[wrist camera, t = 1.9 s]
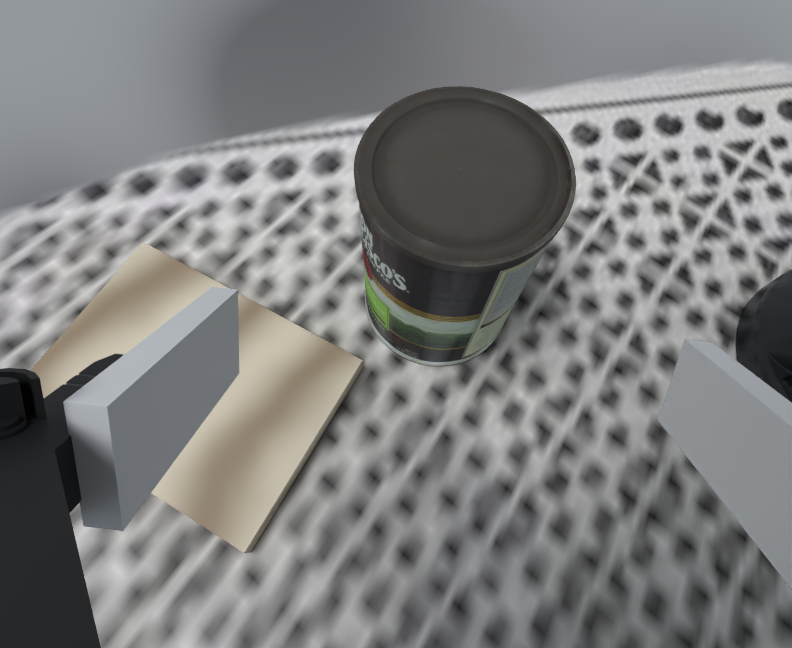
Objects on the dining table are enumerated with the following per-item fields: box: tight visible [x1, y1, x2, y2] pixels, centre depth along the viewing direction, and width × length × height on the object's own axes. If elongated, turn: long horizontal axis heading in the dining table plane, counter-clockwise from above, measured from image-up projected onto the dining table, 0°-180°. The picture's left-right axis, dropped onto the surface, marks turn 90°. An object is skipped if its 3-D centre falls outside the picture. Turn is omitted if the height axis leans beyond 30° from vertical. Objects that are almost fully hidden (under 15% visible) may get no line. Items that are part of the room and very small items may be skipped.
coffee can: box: [354, 87, 576, 366], centre depth 30 cm, size 10×10×14 cm
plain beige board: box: [30, 242, 363, 553], centre depth 33 cm, size 18×13×2 cm
